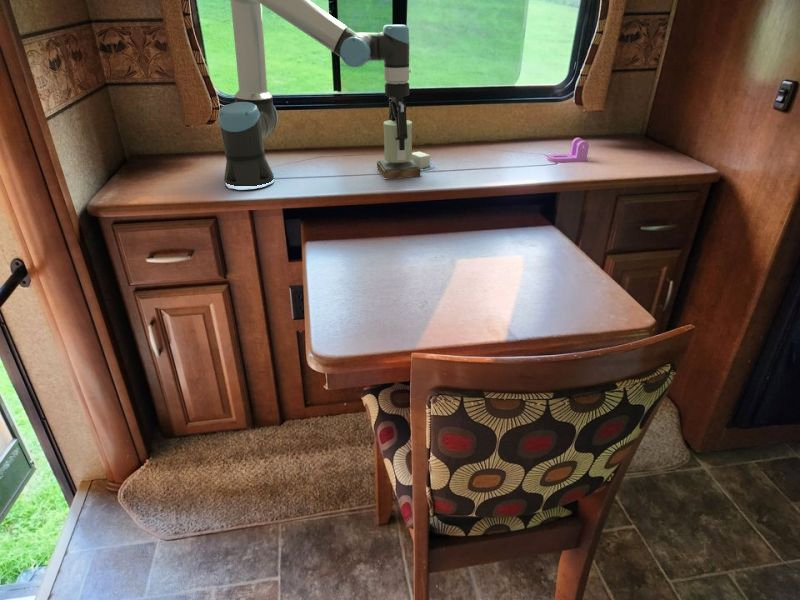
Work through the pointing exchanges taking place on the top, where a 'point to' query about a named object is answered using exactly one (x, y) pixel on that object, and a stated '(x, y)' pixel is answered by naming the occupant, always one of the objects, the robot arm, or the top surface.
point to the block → (421, 159)
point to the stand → (398, 169)
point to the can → (391, 142)
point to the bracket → (572, 153)
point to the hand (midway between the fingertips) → (398, 155)
